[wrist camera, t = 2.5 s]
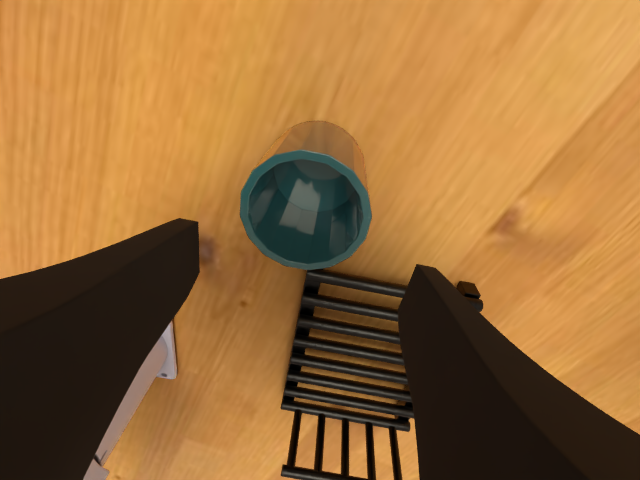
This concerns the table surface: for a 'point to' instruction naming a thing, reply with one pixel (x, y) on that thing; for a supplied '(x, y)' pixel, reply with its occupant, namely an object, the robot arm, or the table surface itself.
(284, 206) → the cup
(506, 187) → the table surface
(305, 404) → the rack
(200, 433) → the table surface
